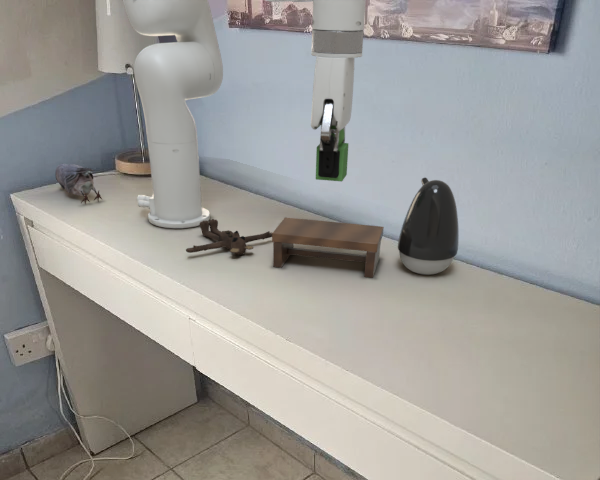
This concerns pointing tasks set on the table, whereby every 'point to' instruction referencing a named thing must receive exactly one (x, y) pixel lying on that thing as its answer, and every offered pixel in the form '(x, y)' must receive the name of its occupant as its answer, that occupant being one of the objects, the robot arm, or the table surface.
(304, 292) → the table surface
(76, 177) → the bird
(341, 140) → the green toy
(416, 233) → the pump dispenser
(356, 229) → the bench
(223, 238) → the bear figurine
